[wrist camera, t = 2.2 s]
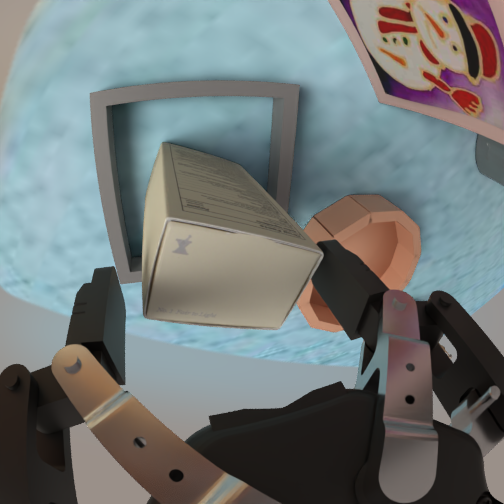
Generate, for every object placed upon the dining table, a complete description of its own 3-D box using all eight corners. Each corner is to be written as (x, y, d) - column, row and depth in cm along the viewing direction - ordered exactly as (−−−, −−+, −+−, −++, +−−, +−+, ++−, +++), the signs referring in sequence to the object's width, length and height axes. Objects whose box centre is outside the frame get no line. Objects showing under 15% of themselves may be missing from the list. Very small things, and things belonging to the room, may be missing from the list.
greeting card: (307, -14, 13) (483, -63, 1) (373, -32, 13) (528, -48, 1) (372, 106, 20) (536, 171, 8) (423, 76, 19) (566, 122, 7)
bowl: (413, 194, 27) (436, 209, 24) (379, 296, 34) (395, 314, 32) (295, 196, 23) (315, 215, 20) (279, 319, 31) (290, 343, 28)
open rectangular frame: (287, 83, 18) (299, 85, 16) (273, 250, 25) (281, 263, 24) (97, 92, 14) (89, 92, 13) (122, 268, 22) (120, 284, 21)
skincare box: (144, 196, 20) (134, 321, 10) (162, 137, 18) (159, 213, 8) (224, 215, 22) (279, 335, 13) (246, 162, 20) (329, 254, 11)
